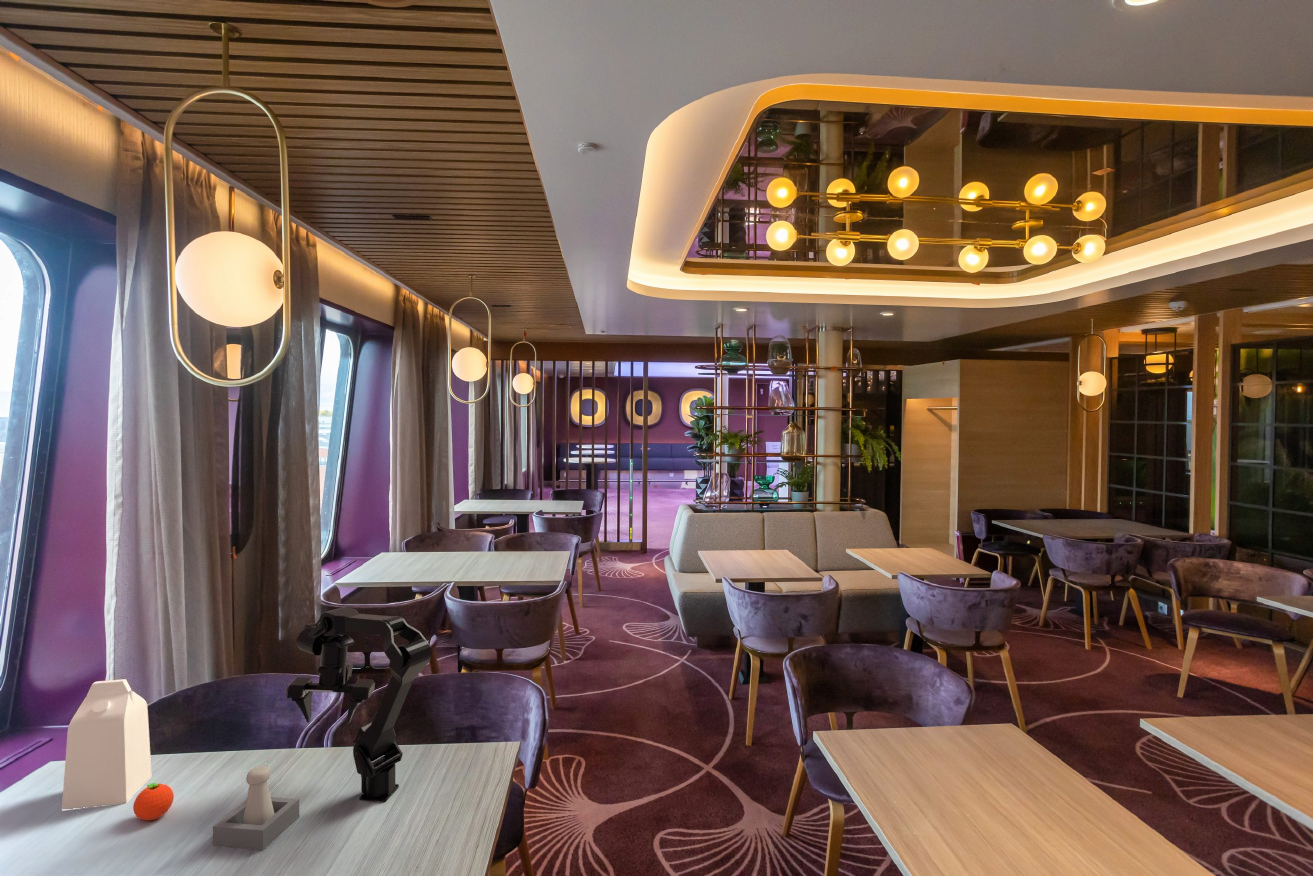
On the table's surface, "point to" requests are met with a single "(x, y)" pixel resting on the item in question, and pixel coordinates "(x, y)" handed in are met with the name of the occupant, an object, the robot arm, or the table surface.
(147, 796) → the clementine
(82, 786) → the milk
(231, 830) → the well block
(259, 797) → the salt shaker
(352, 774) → the table surface
